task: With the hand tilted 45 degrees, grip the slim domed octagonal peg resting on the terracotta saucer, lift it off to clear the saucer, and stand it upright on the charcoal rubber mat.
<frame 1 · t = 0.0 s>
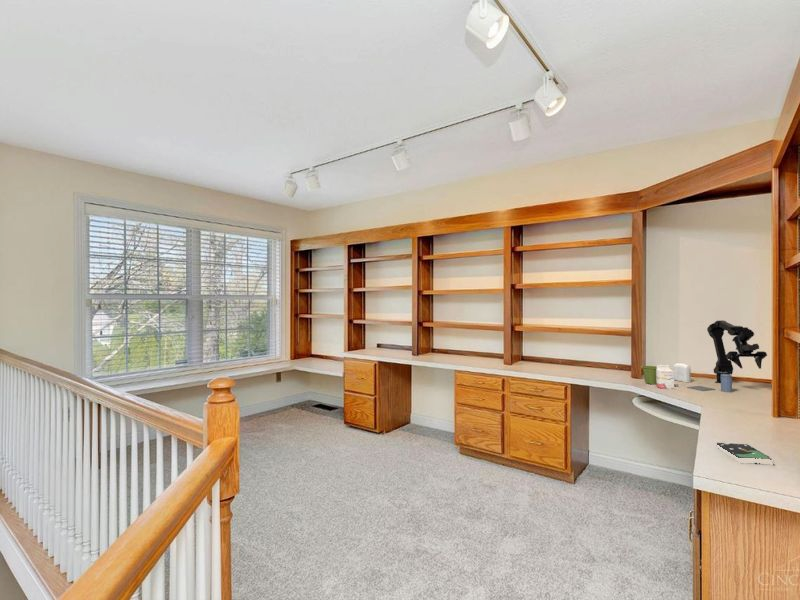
hand: (750, 368, 235), 15 cm above the worktop, tool tilted 35°, fingers open, 9 cm apart
rubber mat: (700, 390, 247), on the worktop
photo printer: (682, 381, 275), on the worktop
terracotta saucer: (726, 393, 238), on the worktop
disk drive: (743, 458, 145), on the worktop
ink cartridge box: (665, 388, 256), on the worktop
plant pot: (651, 383, 271), on the worktop
domed octagonal peg: (726, 391, 238), point 1 cm above the worktop, touching terracotta saucer
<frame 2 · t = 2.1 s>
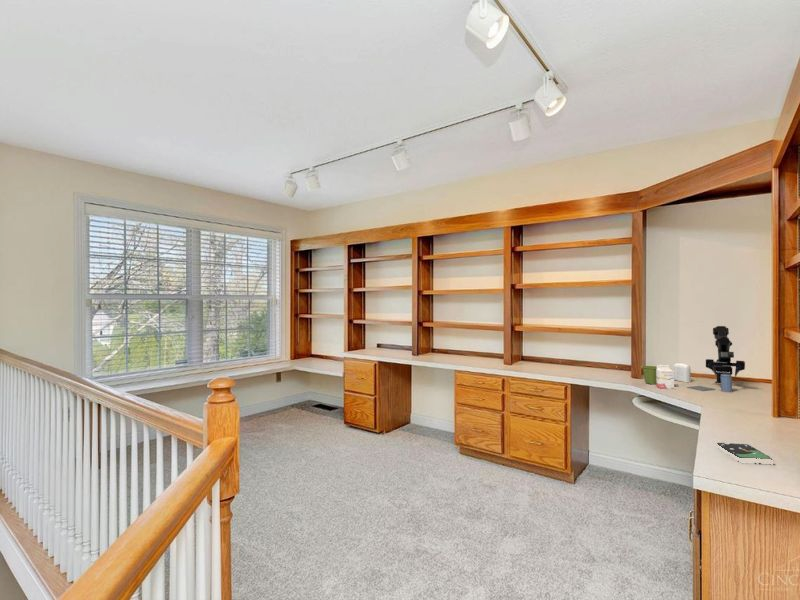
hand: (725, 375, 241), 10 cm above the worktop, tool tilted 45°, fingers open, 9 cm apart
nothing on the worktop moved.
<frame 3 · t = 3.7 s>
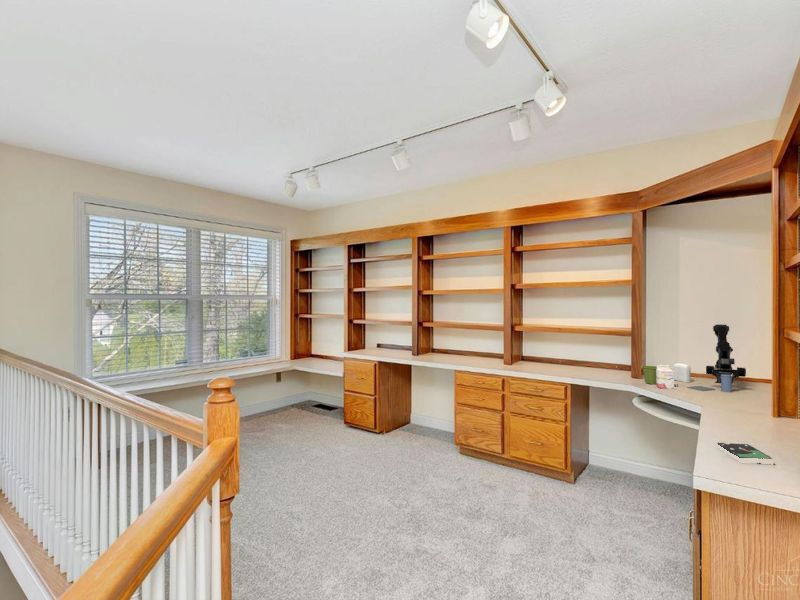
hand: (726, 382, 237), 7 cm above the worktop, tool tilted 45°, fingers closed on domed octagonal peg, 5 cm apart
domed octagonal peg: (726, 391, 238), point 1 cm above the worktop, touching gripper, terracotta saucer
everything else where it was.
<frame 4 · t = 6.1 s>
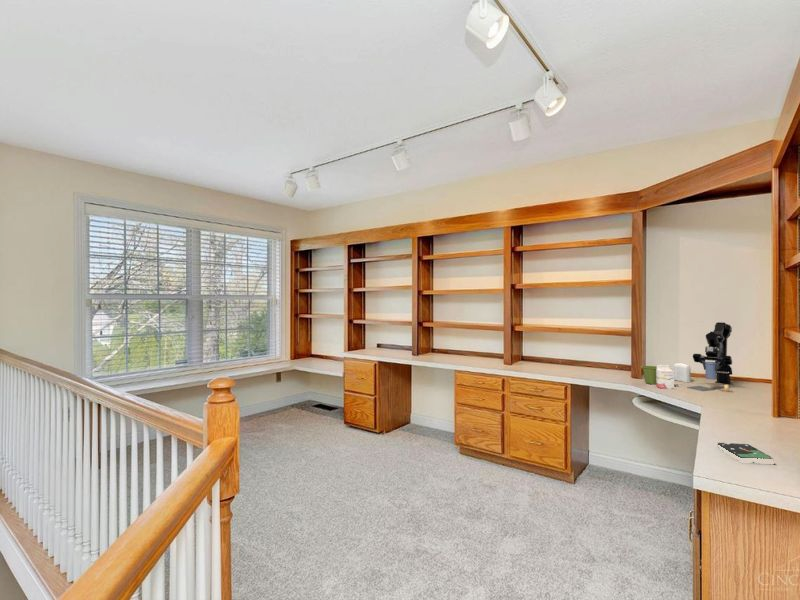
hand: (710, 369, 242), 13 cm above the worktop, tool tilted 45°, fingers closed on domed octagonal peg, 5 cm apart
domed octagonal peg: (711, 378, 243), point 8 cm above the worktop, touching gripper
everything else where it was.
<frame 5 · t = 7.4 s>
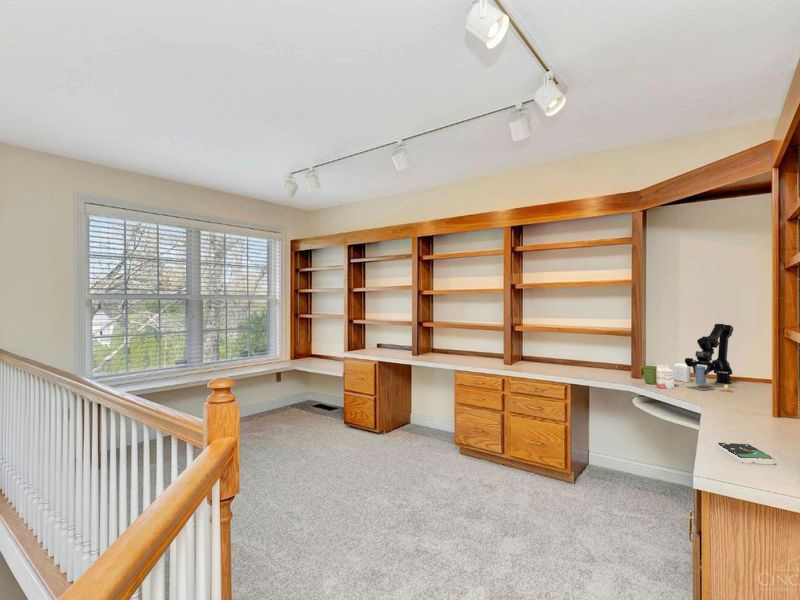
hand: (699, 374, 246), 10 cm above the worktop, tool tilted 45°, fingers closed on domed octagonal peg, 5 cm apart
domed octagonal peg: (700, 382, 247), point 5 cm above the worktop, touching gripper
everything else where it was.
when the fingers open (8 cm above the worktop, at t = 8.3 s): domed octagonal peg stays where it is, resting on rubber mat.
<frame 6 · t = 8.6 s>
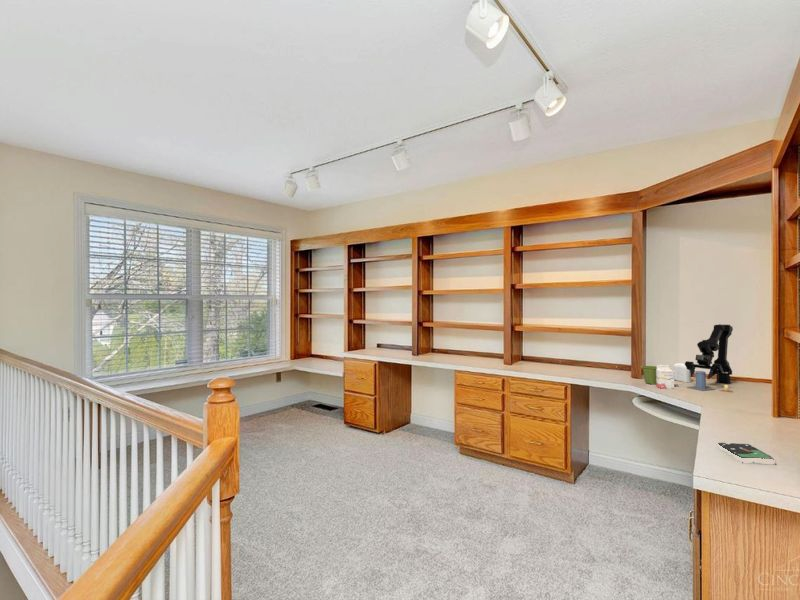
hand: (699, 377, 246), 8 cm above the worktop, tool tilted 45°, fingers open, 8 cm apart
domed octagonal peg: (700, 387, 247), point 1 cm above the worktop, touching rubber mat
everything else where it was.
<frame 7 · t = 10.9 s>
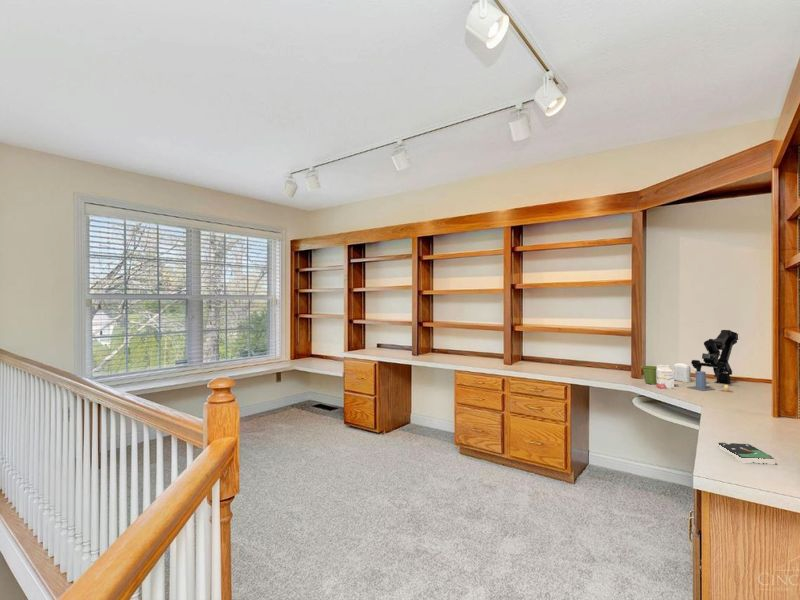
hand: (706, 375, 251), 8 cm above the worktop, tool tilted 45°, fingers open, 9 cm apart
nothing on the worktop moved.
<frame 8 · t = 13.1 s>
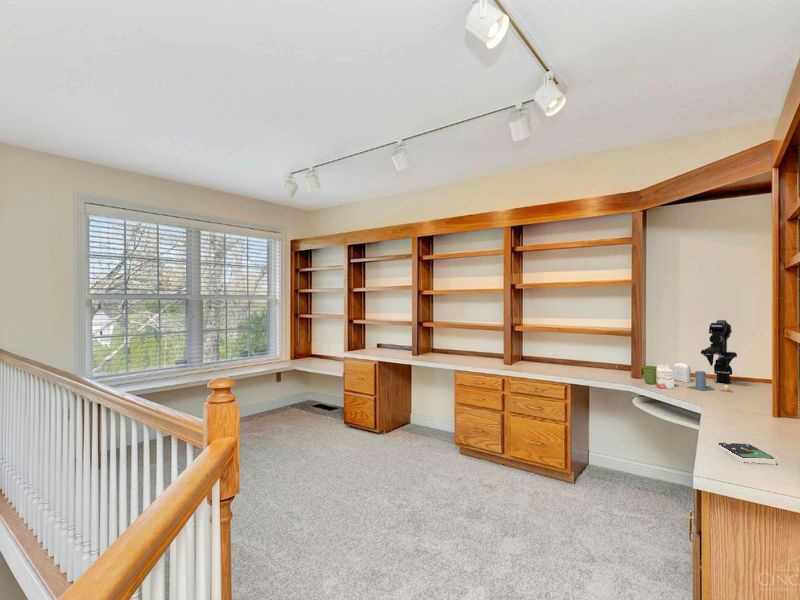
hand: (718, 366, 254), 13 cm above the worktop, tool pointing down, fingers open, 9 cm apart
at the end: domed octagonal peg 0.0 cm off-centre on the rubber mat, point 1.5 cm above the rubber mat's base; domed octagonal peg tilted 0°; the gripper is holding nothing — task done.
